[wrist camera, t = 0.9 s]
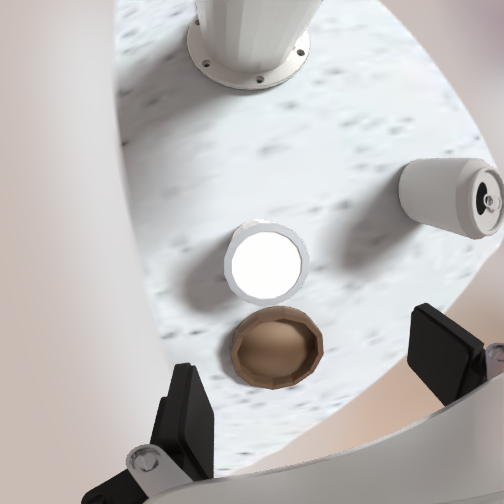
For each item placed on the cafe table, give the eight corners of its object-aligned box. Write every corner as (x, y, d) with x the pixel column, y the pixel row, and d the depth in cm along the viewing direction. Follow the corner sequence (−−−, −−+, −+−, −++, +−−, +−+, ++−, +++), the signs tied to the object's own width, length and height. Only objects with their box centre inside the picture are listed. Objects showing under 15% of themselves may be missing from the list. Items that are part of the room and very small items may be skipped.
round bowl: (223, 316, 31) (222, 325, 29) (314, 297, 31) (319, 305, 29) (241, 384, 33) (242, 395, 31) (320, 367, 34) (324, 377, 32)
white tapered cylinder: (295, 270, 30) (314, 296, 23) (231, 284, 30) (233, 314, 23) (285, 206, 28) (303, 215, 22) (217, 219, 28) (214, 232, 21)
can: (397, 152, 28) (471, 147, 16) (442, 166, 29) (514, 170, 17) (390, 217, 30) (462, 239, 18) (436, 224, 30) (505, 247, 19)
